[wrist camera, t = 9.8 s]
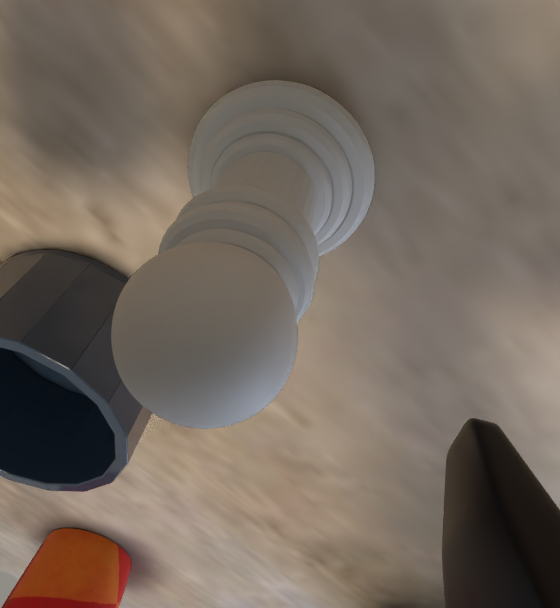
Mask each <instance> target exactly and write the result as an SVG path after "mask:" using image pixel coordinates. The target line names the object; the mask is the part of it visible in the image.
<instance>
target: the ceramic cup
mask: <svg viewBox="0 0 560 608" xmlns="http://www.w3.org/2000/svg"><path fill="white" fill-rule="evenodd" d="M128 280H129V279H127V278H126V277H124V276H123V275H121V274H120V273H118V272H117V271H115V270H114V269H112V268H110V267H108V266H106V265H104V264H102V263H100V262H98V261H95V260H93V259H91V258H88V257H85V256H82V255H78V254H75V253H71V252H66V251H60V250H33V251H28V252H23V253H20V254H18V255H15V256H13V257H11V258H9V259H8V260H6V261H4V262H3V263H2V264H1V265H0V476H2V477H5V478H7V479H9V480H12V481H15V482H19V483H22V484H26V485H30V486H34V487H38V488H41V489H45V490H50V491H82V492H84V491H88V490H91V489H94V488H97V487H100V486H103V485H106V484H109V483H112V482H113V481H114V480H115V479H116V478H117V476H118V475H119V474H120V473H121V471H122V470H123V469H124V468H125V466H126V465H127V464H128V462H129V460H130V458H131V456H132V454H133V452H134V450H135V448H136V446H137V444H138V441H139V439H140V437H141V435H142V433H143V431H144V429H145V427H146V425H147V423H148V421H149V419H150V417H151V414H152V412H150V411H149V410H148V409H146V408H145V407H144V406H143V405H141V404H140V403H139V402H138V401H137V400H136V399H135V398H134V397H133V395H132V394H131V393H130V392H129V390H128V389H127V388H126V386H125V385H124V383H123V381H122V379H121V377H120V375H119V373H118V370H117V368H116V365H115V361H114V357H113V351H112V343H111V329H112V320H113V315H114V310H115V307H116V304H117V301H118V298H119V296H120V294H121V292H122V290H123V288H124V286H125V285H126V283H127V282H128Z"/></svg>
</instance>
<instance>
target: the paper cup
mask: <svg viewBox="0 0 560 608" xmlns="http://www.w3.org/2000/svg"><path fill="white" fill-rule="evenodd" d="M131 565H132V563H131V559H130V557H129V556H128V554H127V553H126V552H125V551H124V550H123V549H122V548H121V547H120V546H118V545H117V544H115V543H114V542H112V541H111V540H109V539H107V538H105V537H103V536H100V535H98V534H95V533H92V532H89V531H85V530H80V529H73V528H63V529H57V530H55V531H53V532H51V533H50V534H49V535H48V537H47V538H46V539H45V541H44V542H43V544H42V545H41V547H40V548H39V550H38V551H37V553H36V554H35V556H34V557H33V559H32V560H31V562H30V563H29V565H28V567H27V568H26V570H25V571H24V573H23V574H22V576H21V578H20V579H19V581H18V582H17V584H16V586H15V587H14V589H13V590H12V592H11V593H10V595H9V597H8V598H7V600H6V601H5V603H4V604H3V606H2V608H119V605H120V602H121V599H122V596H123V593H124V590H125V587H126V583H127V580H128V577H129V573H130V570H131Z"/></svg>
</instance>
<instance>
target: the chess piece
mask: <svg viewBox="0 0 560 608" xmlns="http://www.w3.org/2000/svg"><path fill="white" fill-rule="evenodd" d="M188 175H189V183H190V188H191V191H192V195H193V199H192V200H191V201H189V202H188V203H187V204H186V205H185V206H184V208H183V209H182V210H181V212H180V213H179V215H178V217H177V219H176V221H175V222H174V223H173V224H172V225H171V226H170V227H169V228H168V230H167V231H166V233H165V235H164V236H163V239H162V241H161V244H160V248H159V253H158V255H156V256H155V257H153V258H152V259H150V260H149V261H147V262H146V263H145V264H143V265H142V266H141V267H140V268H139V269H138V270H137V271H136V272H135V273H134V274H133V275H132V276H131V278H130V279H129V280H128V282H127V283H126V285H125V286H124V288H123V290H122V292H121V294H120V296H119V298H118V301H117V304H116V307H115V310H114V315H113V320H112V329H111V343H112V351H113V357H114V361H115V365H116V368H117V370H118V373H119V375H120V377H121V379H122V381H123V383H124V385H125V386H126V388H127V389H128V390H129V392H130V393H131V394H132V395H133V397H134V398H135V399H136V400H137V401H138V402H139V403H140V404H141V405H143V406H144V407H145V408H146V409H148V410H149V411H150V412H152V413H153V414H155V415H157V416H159V417H160V418H162V419H164V420H167V421H169V422H172V423H175V424H178V425H181V426H185V427H191V428H200V429H210V428H219V427H225V426H229V425H233V424H236V423H239V422H241V421H244V420H246V419H248V418H250V417H252V416H254V415H255V414H257V413H258V412H260V411H261V410H263V409H264V408H265V407H266V406H267V405H268V404H270V403H271V402H272V401H273V399H274V398H275V397H276V396H277V395H278V393H279V392H280V391H281V389H282V388H283V386H284V385H285V383H286V381H287V379H288V377H289V375H290V373H291V370H292V367H293V364H294V361H295V356H296V351H297V343H298V325H297V322H298V321H299V320H300V319H301V318H302V317H303V315H304V314H305V312H306V311H307V309H308V308H309V305H310V303H311V301H312V298H313V294H314V287H315V280H316V277H317V274H318V270H319V257H320V256H322V255H324V254H326V253H328V252H331V251H332V250H334V249H335V248H337V247H338V246H340V245H341V244H342V243H343V242H345V241H346V240H347V239H348V238H349V237H350V236H351V235H352V233H353V232H354V231H355V230H356V229H357V228H358V226H359V225H360V223H361V222H362V220H363V219H364V217H365V215H366V213H367V211H368V209H369V206H370V203H371V200H372V197H373V191H374V186H375V169H374V160H373V156H372V152H371V149H370V146H369V144H368V141H367V139H366V136H365V135H364V133H363V131H362V129H361V128H360V126H359V124H358V123H357V122H356V120H355V119H354V118H353V117H352V115H351V114H350V113H349V112H348V111H347V110H346V109H345V108H344V107H343V106H342V105H341V104H339V103H338V102H337V101H335V100H334V99H333V98H331V97H330V96H328V95H327V94H325V93H323V92H321V91H320V90H318V89H315V88H313V87H310V86H308V85H304V84H300V83H296V82H292V81H283V80H265V81H259V82H254V83H250V84H247V85H244V86H241V87H239V88H237V89H235V90H233V91H231V92H229V93H227V94H226V95H224V96H223V97H222V98H220V99H219V100H218V101H217V102H215V103H214V104H213V105H212V106H211V107H210V108H209V109H208V111H207V112H206V113H205V115H204V116H203V117H202V119H201V121H200V122H199V124H198V126H197V128H196V130H195V133H194V135H193V138H192V142H191V146H190V151H189V160H188Z"/></svg>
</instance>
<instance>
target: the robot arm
mask: <svg viewBox="0 0 560 608" xmlns="http://www.w3.org/2000/svg"><path fill="white" fill-rule="evenodd" d="M442 563H443V581H444V596H445V608H560V510H559V508H558V507H557V506H556V504H555V503H554V501H553V500H552V499H551V497H550V496H549V495H548V493H547V492H546V490H545V489H544V488H543V486H542V485H541V483H540V482H539V481H538V479H537V478H536V477H535V475H534V474H533V472H532V471H531V470H530V468H529V467H528V466H527V464H526V463H525V461H524V460H523V459H522V457H521V456H520V455H519V453H518V452H517V450H516V449H515V448H514V446H513V445H512V443H511V442H510V441H509V439H508V438H507V437H506V435H505V434H504V432H503V431H502V430H501V428H500V427H499V426H498V425H496V424H495V423H491V422H488V421H484V420H480V419H476V418H471V419H469V420H468V421H467V422H466V423H465V425H464V426H463V428H462V429H461V431H460V432H459V434H458V436H457V437H456V439H455V440H454V442H453V444H452V445H451V447H450V449H449V451H448V455H447V459H446V475H445V496H444V517H443V538H442Z"/></svg>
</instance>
